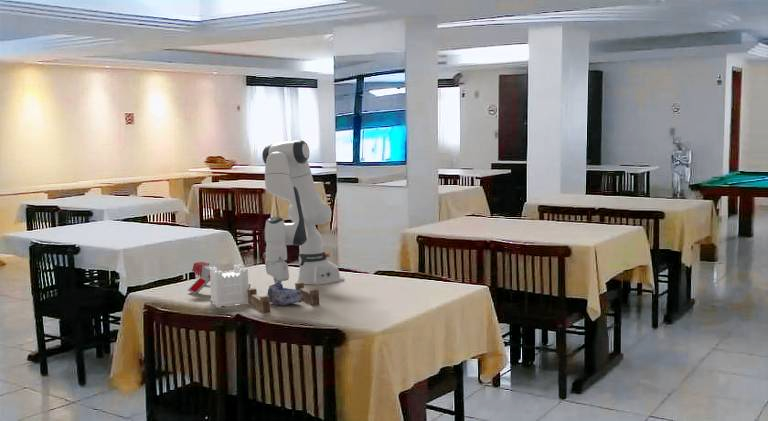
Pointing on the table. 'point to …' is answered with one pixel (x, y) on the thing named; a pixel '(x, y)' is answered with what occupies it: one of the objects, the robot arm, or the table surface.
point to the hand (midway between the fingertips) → (278, 287)
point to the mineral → (283, 295)
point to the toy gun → (202, 276)
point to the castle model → (229, 286)
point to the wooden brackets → (264, 301)
